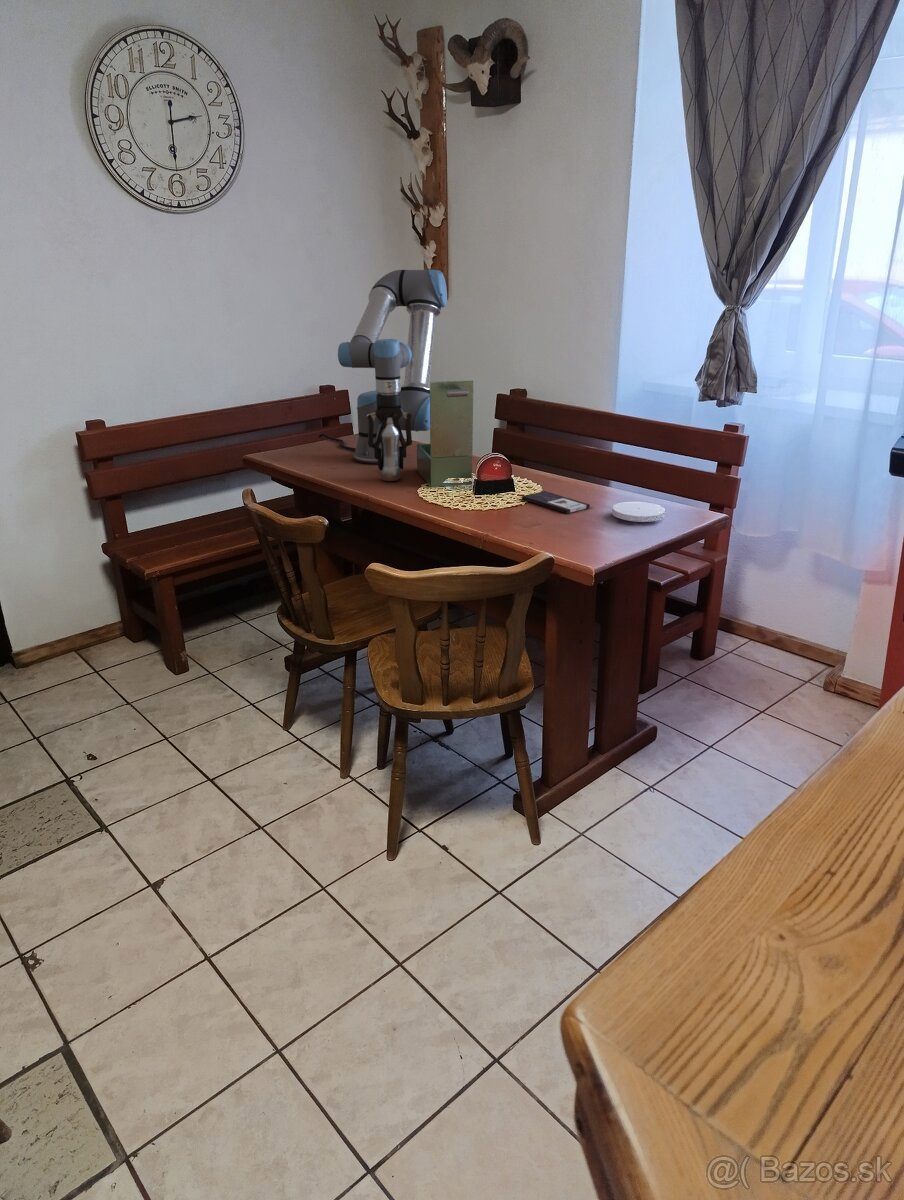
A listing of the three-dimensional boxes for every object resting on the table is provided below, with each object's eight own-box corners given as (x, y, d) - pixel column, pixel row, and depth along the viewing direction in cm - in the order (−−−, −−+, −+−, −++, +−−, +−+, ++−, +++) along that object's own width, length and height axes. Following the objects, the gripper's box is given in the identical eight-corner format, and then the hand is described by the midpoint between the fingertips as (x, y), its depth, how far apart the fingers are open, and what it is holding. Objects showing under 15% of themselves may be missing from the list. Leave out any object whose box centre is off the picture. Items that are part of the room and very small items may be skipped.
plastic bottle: (376, 482, 254) (374, 417, 246) (386, 477, 259) (384, 413, 252) (395, 484, 251) (393, 419, 244) (404, 479, 257) (403, 415, 249)
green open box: (417, 470, 267) (416, 444, 264) (455, 468, 270) (455, 442, 267) (431, 487, 248) (430, 458, 245) (471, 484, 251) (472, 456, 247)
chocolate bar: (544, 490, 240) (589, 504, 227) (544, 494, 240) (589, 507, 227) (522, 496, 235) (566, 510, 222) (522, 499, 235) (566, 513, 222)
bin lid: (429, 382, 236) (435, 386, 229) (472, 380, 238) (479, 384, 232) (430, 457, 245) (435, 463, 238) (471, 454, 248) (478, 461, 241)
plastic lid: (601, 513, 222) (602, 504, 221) (645, 508, 227) (646, 499, 226) (629, 528, 210) (630, 518, 209) (675, 522, 215) (676, 513, 214)
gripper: (358, 396, 239) (362, 473, 248) (421, 393, 244) (423, 469, 253) (355, 392, 246) (358, 467, 255) (416, 390, 250) (418, 464, 259)
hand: (390, 468), depth 254 cm, fingers closed on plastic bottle, 6 cm apart
